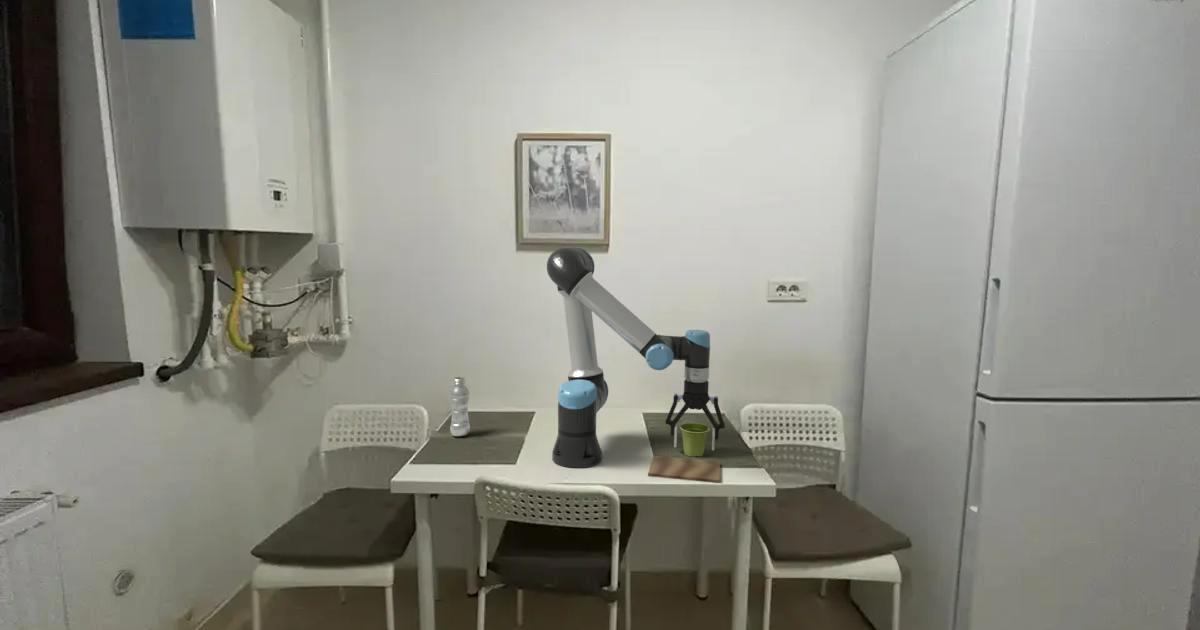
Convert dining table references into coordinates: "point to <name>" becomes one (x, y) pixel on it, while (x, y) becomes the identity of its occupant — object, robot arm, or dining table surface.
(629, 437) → the dining table surface
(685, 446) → the plant pot
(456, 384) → the plastic bottle
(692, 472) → the walnut board
